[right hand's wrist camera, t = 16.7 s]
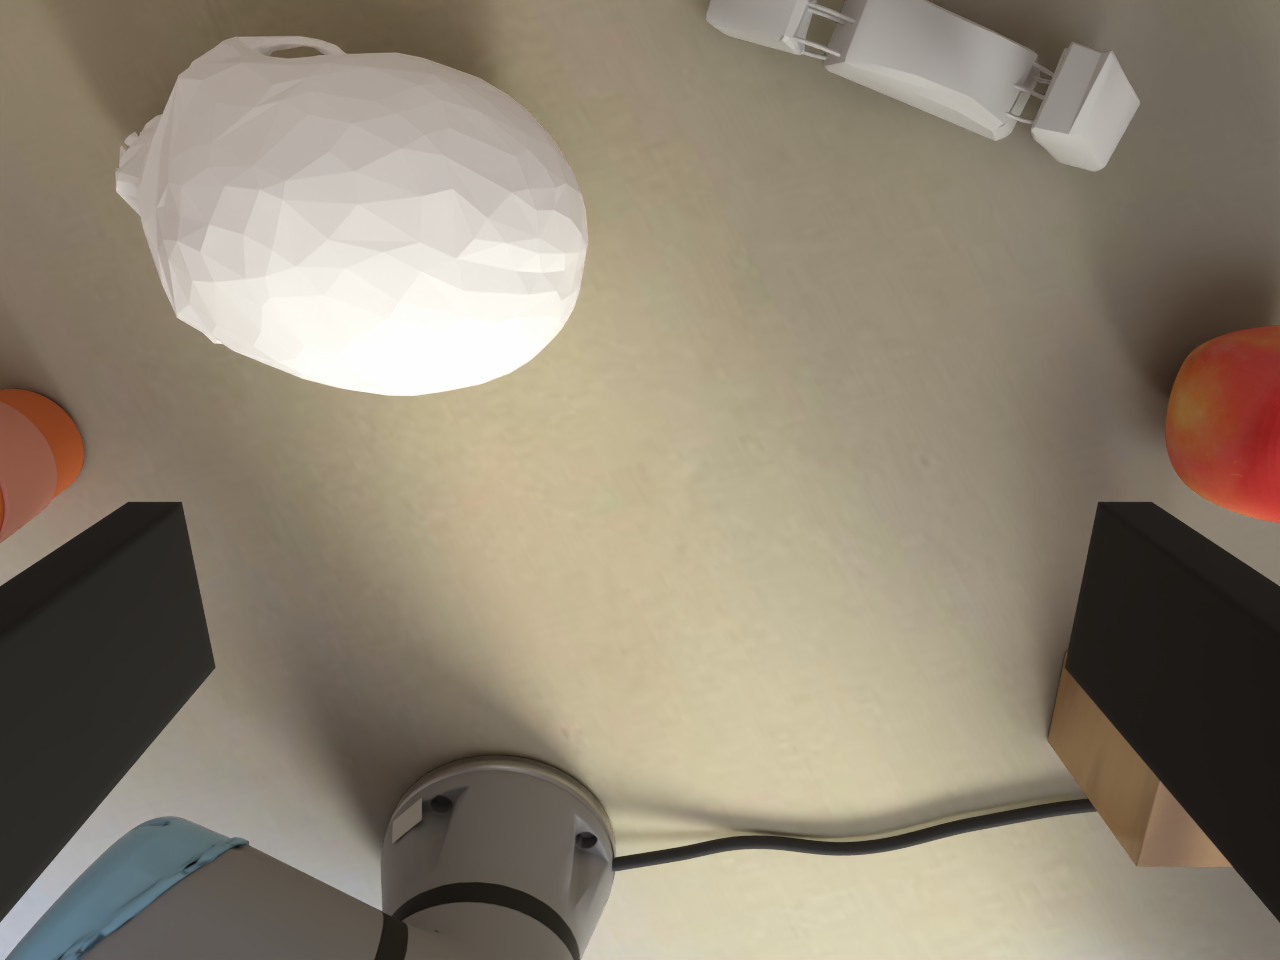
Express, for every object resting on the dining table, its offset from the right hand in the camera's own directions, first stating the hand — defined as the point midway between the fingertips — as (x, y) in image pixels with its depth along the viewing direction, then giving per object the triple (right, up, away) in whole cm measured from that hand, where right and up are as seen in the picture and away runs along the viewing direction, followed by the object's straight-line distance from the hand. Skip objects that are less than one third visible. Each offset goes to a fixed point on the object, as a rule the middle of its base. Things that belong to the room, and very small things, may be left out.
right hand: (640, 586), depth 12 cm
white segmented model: (+13, +21, +28) cm, 38 cm away
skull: (-13, +15, +30) cm, 36 cm away
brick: (+29, -12, +41) cm, 51 cm away
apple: (+31, +6, +34) cm, 46 cm away
